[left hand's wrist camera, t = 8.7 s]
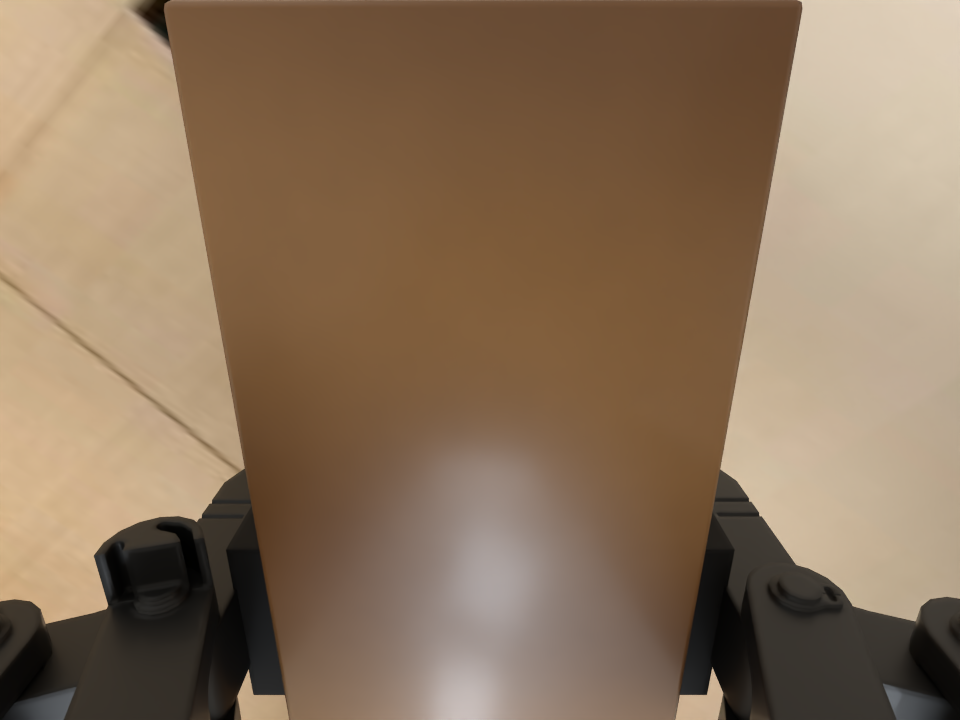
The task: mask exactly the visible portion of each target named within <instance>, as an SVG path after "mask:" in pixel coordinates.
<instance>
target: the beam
mask: <svg viewBox="0 0 960 720" xmlns="http://www.w3.org/2000/svg"><path fill="white" fill-rule="evenodd" d="M164 13H165V18H166V24H167V30H168V35H169V41H170V47H171V52H172V58H173V64H174V69H175V75H176V80H177V86H178V92H179V97H180V103H181V109H182V114H183V120H184V126H185V131H186V137H187V143H188V148H189V154H190V160H191V165H192V171H193V177H194V182H195V188H196V194H197V199H198V205H199V211H200V216H201V222H202V228H203V233H204V239H205V245H206V250H207V256H208V262H209V267H210V273H211V279H212V284H213V290H214V296H215V301H216V307H217V313H218V318H219V324H220V329H221V335H222V341H223V346H224V352H225V358H226V363H227V369H228V375H229V380H230V386H231V392H232V397H233V403H234V409H235V414H236V420H237V426H238V431H239V437H240V443H241V448H242V454H243V460H244V465H245V471H246V477H247V482H248V488H249V494H250V499H251V505H252V511H253V516H254V522H255V528H256V533H257V539H258V545H259V550H260V556H261V561H262V567H263V573H264V578H265V584H266V590H267V595H268V601H269V607H270V612H271V618H272V624H273V629H274V635H275V641H276V646H277V652H278V658H279V663H280V669H281V675H282V680H283V686H284V692H285V697H286V703H287V709H288V714H289V720H675V718H676V713H677V707H678V701H679V696H680V690H681V685H682V679H683V673H684V668H685V662H686V657H687V651H688V645H689V640H690V634H691V629H692V623H693V617H694V612H695V606H696V601H697V595H698V589H699V584H700V578H701V573H702V567H703V562H704V556H705V550H706V545H707V539H708V534H709V528H710V522H711V517H712V511H713V506H714V500H715V494H716V489H717V483H718V478H719V472H720V466H721V461H722V455H723V450H724V444H725V439H726V433H727V427H728V422H729V416H730V411H731V405H732V399H733V394H734V388H735V383H736V377H737V371H738V366H739V360H740V355H741V349H742V343H743V338H744V332H745V327H746V321H747V315H748V310H749V304H750V299H751V293H752V288H753V282H754V276H755V271H756V265H757V260H758V254H759V248H760V243H761V237H762V232H763V226H764V220H765V215H766V209H767V204H768V198H769V192H770V187H771V181H772V176H773V170H774V164H775V159H776V153H777V148H778V142H779V137H780V131H781V125H782V120H783V114H784V109H785V103H786V97H787V92H788V86H789V81H790V75H791V69H792V64H793V58H794V53H795V47H796V41H797V36H798V30H799V25H800V19H801V13H802V2H800V1H798V0H171V1H169V2H167V3H165V6H164Z"/></svg>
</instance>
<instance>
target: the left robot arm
mask: <svg viewBox="0 0 960 720" xmlns="http://www.w3.org/2000/svg"><path fill="white" fill-rule="evenodd" d="M94 558H95V561H96V565H97V568H98V571H99V575H100V578H101V582H102V585H103V588H104V592H105V595H106V599H107V602H108V608H107V609H106V610H102V611H99V612H96V613H92V614H88V615H83V616H79V617H75V618H70V619H66V620H61V621H57V622H53V623H48V624H45V621H44V618H43V615H42V612H41V609H40V608H38V607H37V606H36V605H35V604H33V603H32V602H30V601H22V600H15V599H14V600H8V601H1V602H0V720H241V715H240V708H239V703H238V698H237V695H238V693H239V690H240V688H241V686H242V683H243V681H244V678H245V676H246V674H247V671H248V669H249V673H250V678H251V683H252V689H253V694H254V695H285V692H284V686H283V680H282V675H281V669H280V663H279V658H278V652H277V646H276V641H275V635H274V629H273V624H272V618H271V612H270V607H269V601H268V595H267V590H266V584H265V578H264V573H263V567H262V561H261V556H260V550H259V545H258V539H257V533H256V528H255V522H254V516H253V511H252V505H251V499H250V494H249V488H248V482H247V477H246V471H245V469H243V470H242V471H241V472H239V473H238V474H236V475H235V476H234V477H232V478H231V479H229V480H228V481H226V482H225V483H224V484H223V486H222V487H221V489H220V490H219V491H218V493H217V494H216V496H215V497H214V498H213V500H212V504H209V506H208V507H207V508H206V510H205V511H204V513H203V514H202V519H199V520H198V521H197V522H195V521H194V520H192V519H188V518H184V517H179V516H176V517H159V518H155V519H151V520H147V521H143V522H139V523H137V524H135V525H133V526H130V527H128V528H126V529H124V530H121V531H120V532H118V533H117V534H115V535H114V536H113V537H111V538H110V539H108V540H107V541H106V542H104V543H103V545H102V546H101V547H100V548H99V550H98V551H97V552H96V554H95V555H94ZM712 667H713V669H714V672H715V674H716V677H717V679H718V681H719V684H720V686H721V688H722V691H723V698H722V703H721V708H720V713H719V717H718V720H960V599H957V598H950V597H944V598H936V599H930V600H929V601H928V602H926V603H925V604H924V605H923V606H921V609H920V611H919V614H918V617H917V620H916V622H914V621H910V620H906V619H901V618H897V617H892V616H888V615H884V614H879V613H875V612H870V611H867V610H863V609H860V608H857V607H853V606H852V604H851V603H850V601H849V600H848V598H847V597H846V595H845V594H844V592H843V591H842V590H841V589H840V588H839V587H837V586H836V585H835V584H834V583H833V582H831V581H830V580H829V579H828V578H826V577H824V576H822V575H820V574H818V573H816V572H814V571H812V570H810V569H808V568H804V567H801V566H797V565H796V564H795V563H794V561H793V560H792V559H791V557H790V556H789V554H788V553H787V552H786V550H785V549H784V547H783V546H782V545H781V543H780V542H779V540H778V539H777V537H776V536H775V535H774V533H773V532H772V530H771V529H770V528H769V526H768V525H767V523H766V522H765V521H764V519H763V518H762V517H760V516H759V512H758V511H757V509H756V508H755V506H754V505H753V504H752V502H749V498H748V496H747V495H746V494H745V492H744V491H743V489H742V488H741V487H740V485H739V484H738V482H737V481H736V480H734V479H733V478H732V477H730V476H729V475H727V474H726V473H724V472H723V471H722V470H720V472H719V478H718V483H717V489H716V494H715V500H714V506H713V511H712V517H711V522H710V528H709V534H708V539H707V545H706V550H705V556H704V562H703V567H702V573H701V578H700V584H699V589H698V595H697V601H696V606H695V612H694V617H693V623H692V629H691V634H690V640H689V645H688V651H687V657H686V662H685V668H684V673H683V679H682V685H681V690H680V695H707V691H708V686H709V681H710V676H711V671H712Z"/></svg>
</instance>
